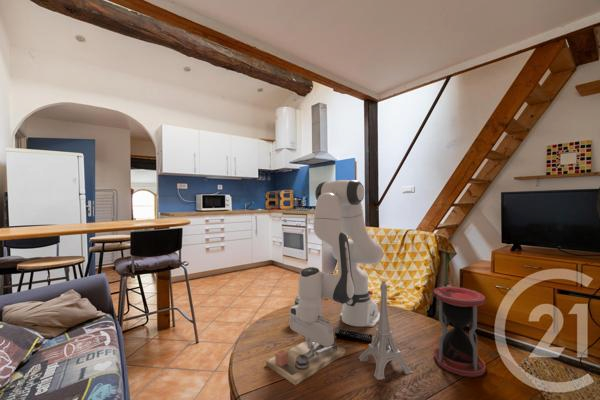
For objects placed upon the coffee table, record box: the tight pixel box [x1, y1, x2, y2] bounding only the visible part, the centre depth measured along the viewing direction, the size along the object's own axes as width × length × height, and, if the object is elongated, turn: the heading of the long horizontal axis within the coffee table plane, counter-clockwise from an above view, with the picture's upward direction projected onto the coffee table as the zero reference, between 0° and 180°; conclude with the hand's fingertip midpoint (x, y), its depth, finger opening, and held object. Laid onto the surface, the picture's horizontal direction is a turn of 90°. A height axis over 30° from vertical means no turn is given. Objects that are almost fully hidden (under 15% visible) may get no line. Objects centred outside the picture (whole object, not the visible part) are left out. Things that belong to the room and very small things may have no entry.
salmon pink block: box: [275, 349, 288, 367], centre depth 96 cm, size 3×3×4 cm
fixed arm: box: [295, 342, 338, 370], centre depth 100 cm, size 19×5×2 cm, turn 128°
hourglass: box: [432, 286, 486, 378], centre depth 99 cm, size 16×16×25 cm
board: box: [265, 340, 346, 386], centre depth 102 cm, size 26×15×2 cm, turn 134°
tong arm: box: [296, 343, 325, 365], centre depth 101 cm, size 18×4×2 cm, turn 149°
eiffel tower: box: [357, 279, 414, 381], centre depth 98 cm, size 13×13×30 cm
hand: (311, 349), depth 104 cm, fingers closed
